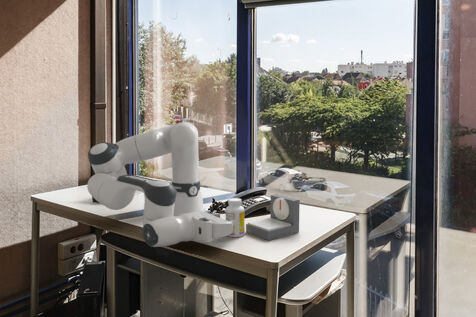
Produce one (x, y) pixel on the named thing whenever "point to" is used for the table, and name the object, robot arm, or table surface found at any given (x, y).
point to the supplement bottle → (236, 216)
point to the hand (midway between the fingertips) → (227, 218)
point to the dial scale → (277, 219)
